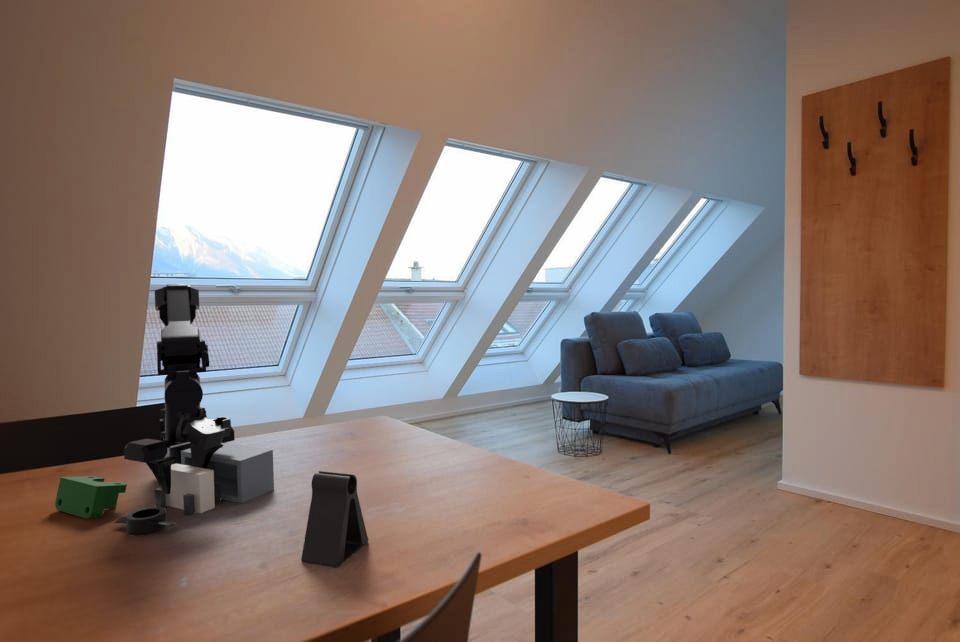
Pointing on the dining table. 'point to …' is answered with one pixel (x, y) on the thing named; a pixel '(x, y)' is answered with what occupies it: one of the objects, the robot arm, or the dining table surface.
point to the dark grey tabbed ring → (145, 521)
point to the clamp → (87, 495)
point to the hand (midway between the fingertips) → (183, 488)
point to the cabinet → (239, 471)
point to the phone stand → (333, 520)
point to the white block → (191, 487)
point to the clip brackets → (185, 500)
